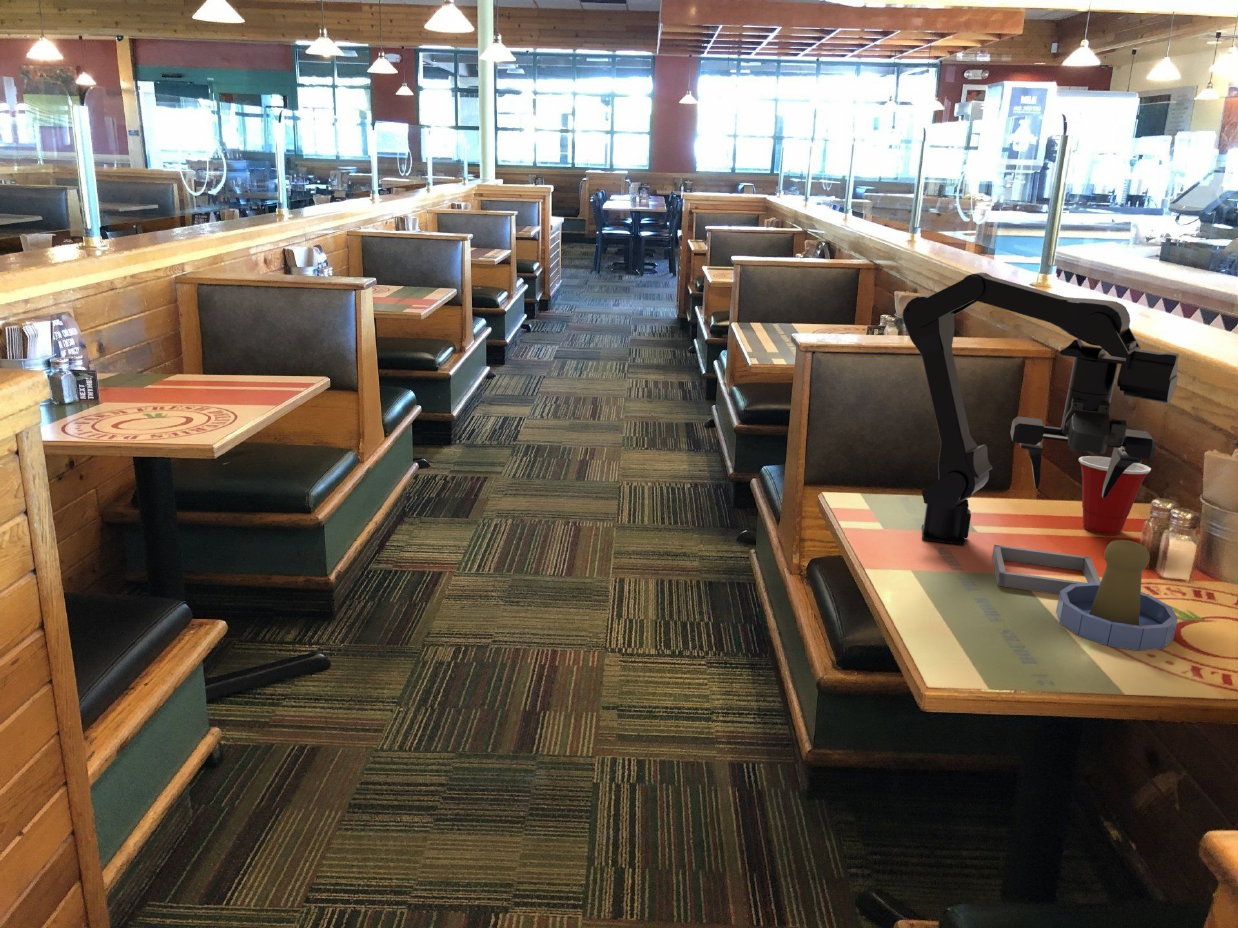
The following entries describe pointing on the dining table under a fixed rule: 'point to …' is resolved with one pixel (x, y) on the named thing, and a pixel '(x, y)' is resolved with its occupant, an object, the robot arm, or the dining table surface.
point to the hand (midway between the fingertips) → (1069, 492)
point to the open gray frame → (1041, 559)
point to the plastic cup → (1115, 508)
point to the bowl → (1150, 633)
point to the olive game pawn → (1121, 583)
